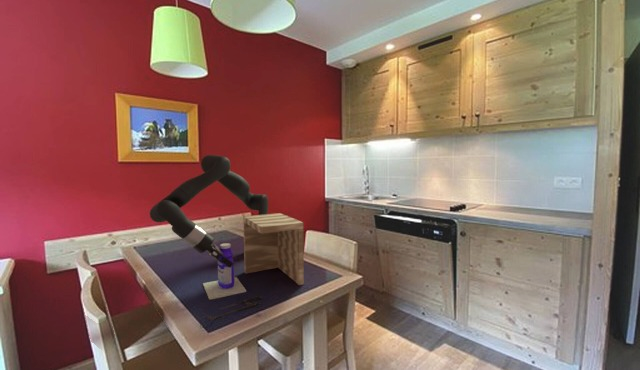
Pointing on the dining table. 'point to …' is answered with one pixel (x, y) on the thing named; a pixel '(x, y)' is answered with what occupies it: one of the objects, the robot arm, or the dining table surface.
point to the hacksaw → (236, 309)
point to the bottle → (226, 268)
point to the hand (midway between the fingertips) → (229, 262)
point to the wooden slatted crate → (274, 245)
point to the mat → (222, 289)
